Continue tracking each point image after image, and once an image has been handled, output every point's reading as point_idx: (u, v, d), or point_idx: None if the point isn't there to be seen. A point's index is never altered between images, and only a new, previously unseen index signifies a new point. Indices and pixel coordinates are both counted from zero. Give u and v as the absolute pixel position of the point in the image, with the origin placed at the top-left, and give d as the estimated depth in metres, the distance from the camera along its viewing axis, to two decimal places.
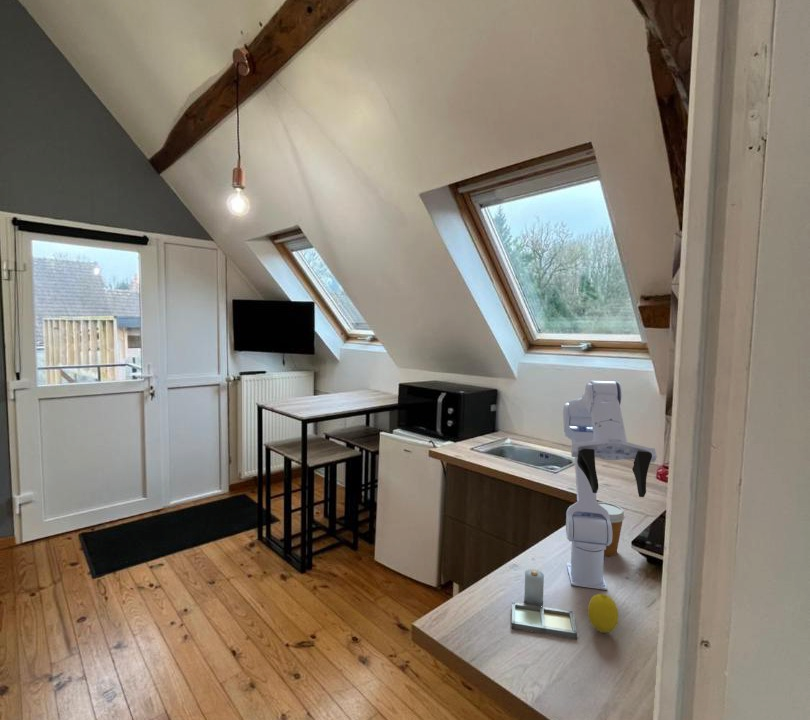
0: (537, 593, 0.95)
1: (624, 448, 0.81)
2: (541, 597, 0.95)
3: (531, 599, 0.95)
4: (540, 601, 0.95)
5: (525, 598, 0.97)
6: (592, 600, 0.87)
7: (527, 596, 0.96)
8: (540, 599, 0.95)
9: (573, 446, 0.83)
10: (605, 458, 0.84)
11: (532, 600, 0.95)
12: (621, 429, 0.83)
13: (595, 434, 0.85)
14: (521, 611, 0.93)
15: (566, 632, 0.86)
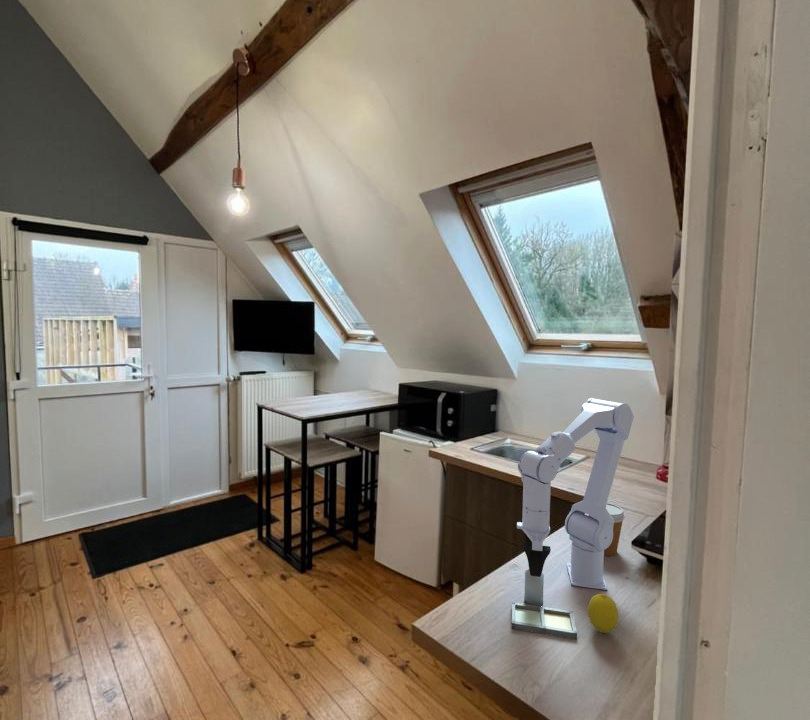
0: (537, 593, 0.95)
1: None
2: (541, 597, 0.95)
3: (531, 599, 0.95)
4: (540, 601, 0.95)
5: (525, 598, 0.97)
6: (592, 600, 0.87)
7: (527, 596, 0.96)
8: (540, 599, 0.95)
9: None
10: None
11: (532, 600, 0.95)
12: (526, 515, 0.94)
13: None
14: (521, 611, 0.93)
15: (566, 632, 0.86)
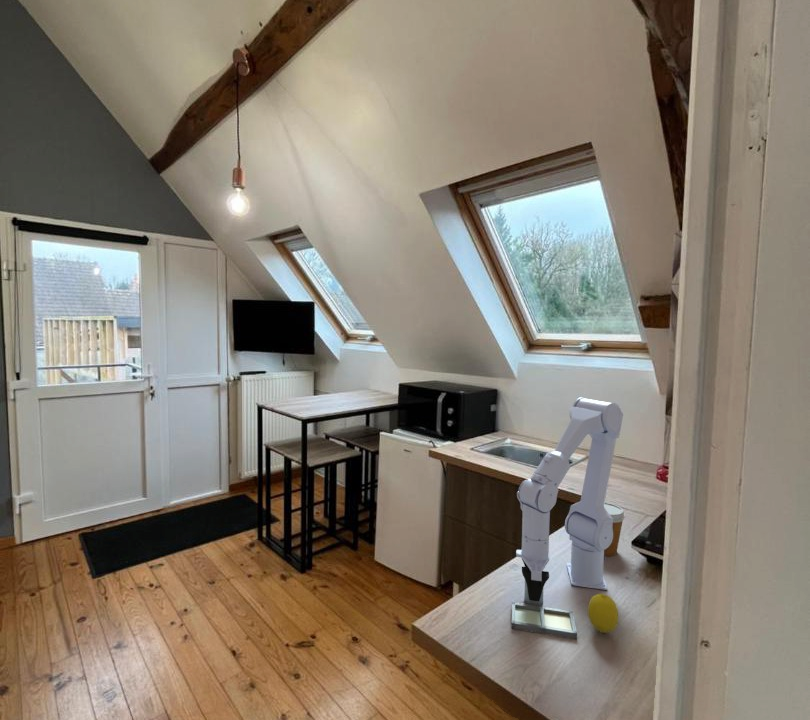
0: None
1: None
2: (541, 597, 0.95)
3: None
4: (540, 601, 0.95)
5: (525, 598, 0.97)
6: (592, 600, 0.87)
7: (527, 596, 0.96)
8: (540, 599, 0.95)
9: None
10: None
11: None
12: (525, 543, 0.95)
13: None
14: (521, 611, 0.93)
15: (566, 632, 0.86)
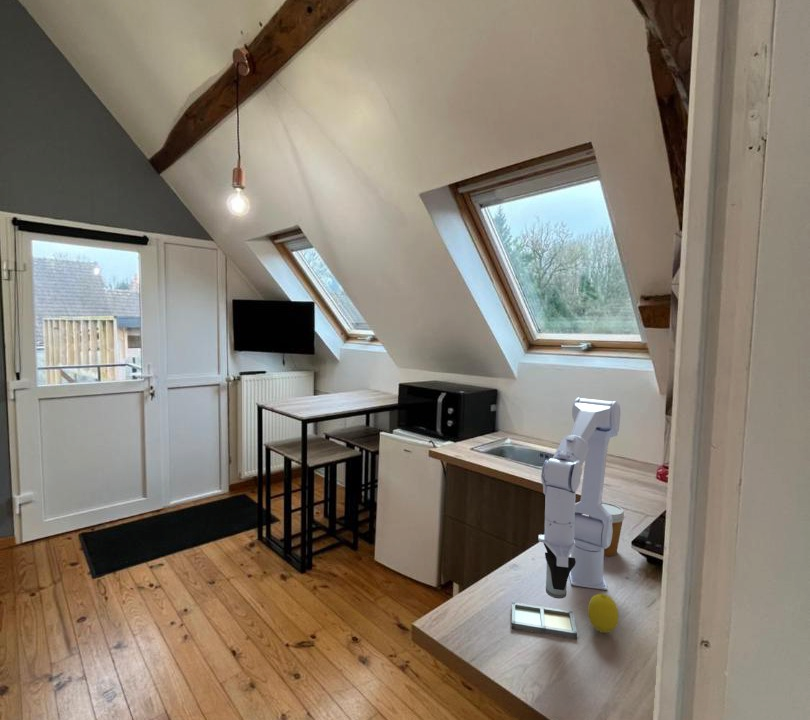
0: None
1: None
2: None
3: (553, 589, 0.88)
4: (563, 591, 0.88)
5: (547, 587, 0.89)
6: (592, 600, 0.87)
7: (549, 585, 0.88)
8: None
9: None
10: None
11: (554, 590, 0.88)
12: (549, 527, 0.87)
13: None
14: (521, 611, 0.93)
15: (566, 632, 0.86)
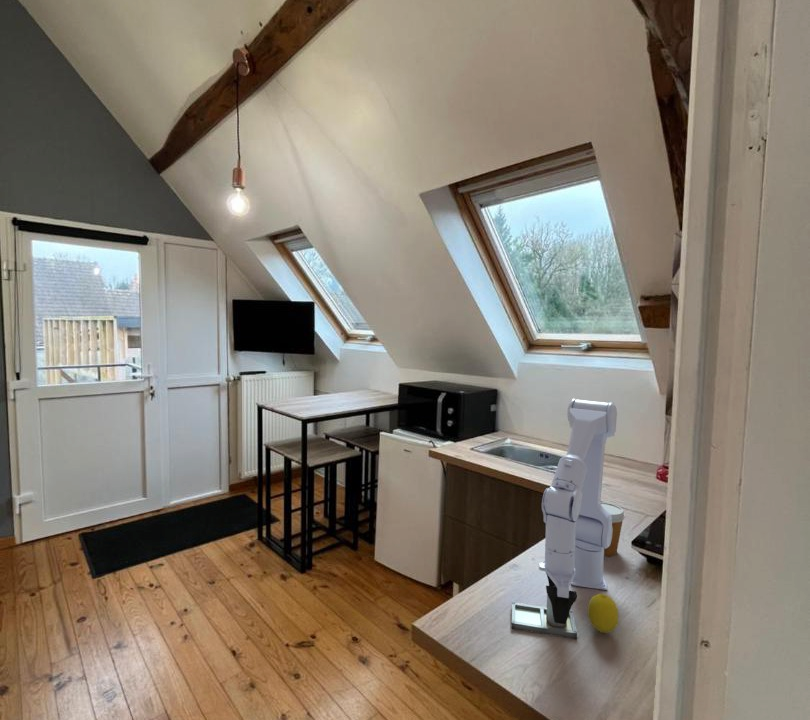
0: None
1: None
2: None
3: None
4: None
5: (547, 617, 0.89)
6: (592, 600, 0.87)
7: (549, 615, 0.89)
8: None
9: None
10: None
11: None
12: (549, 556, 0.87)
13: None
14: (521, 611, 0.93)
15: (566, 632, 0.86)
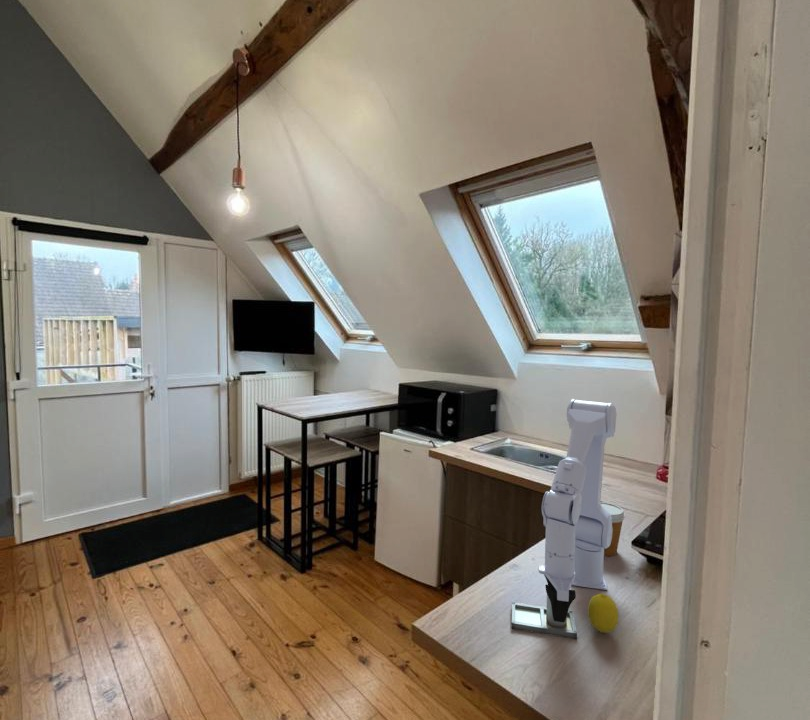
0: None
1: None
2: None
3: None
4: None
5: (547, 618, 0.89)
6: (592, 600, 0.87)
7: (549, 616, 0.89)
8: None
9: None
10: None
11: None
12: (549, 559, 0.87)
13: None
14: (521, 611, 0.93)
15: (566, 632, 0.86)
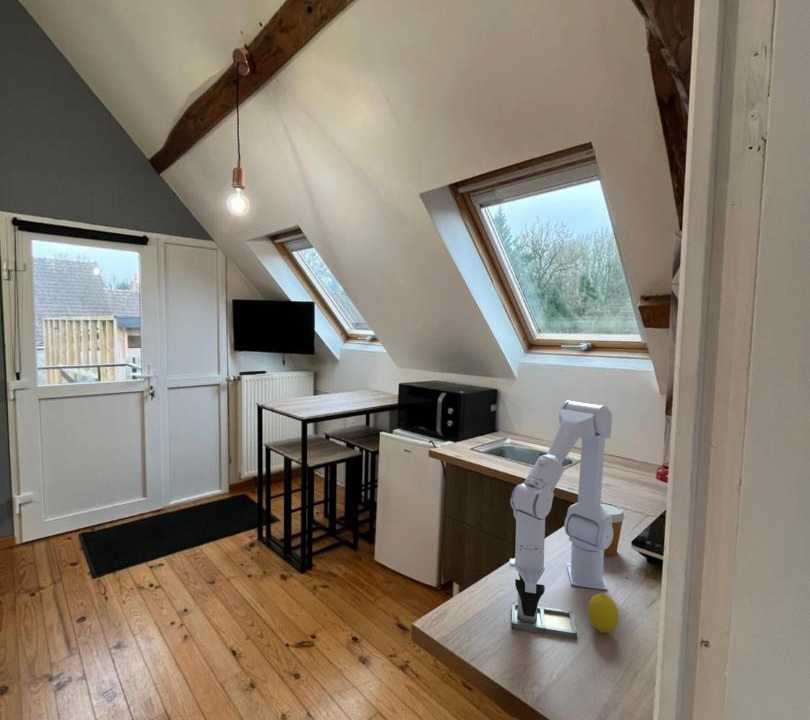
0: None
1: None
2: (535, 613, 0.89)
3: None
4: (534, 617, 0.89)
5: (518, 613, 0.91)
6: (592, 600, 0.87)
7: (520, 611, 0.90)
8: None
9: None
10: None
11: None
12: (519, 552, 0.89)
13: None
14: None
15: (566, 632, 0.86)
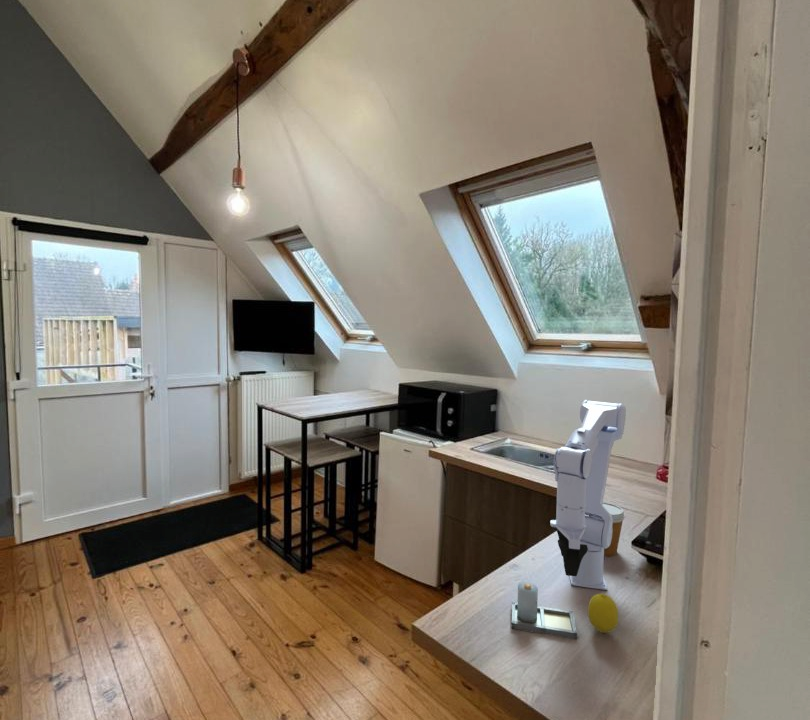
0: (530, 608, 0.89)
1: None
2: (535, 612, 0.89)
3: (524, 614, 0.89)
4: (534, 617, 0.89)
5: (518, 613, 0.91)
6: (592, 600, 0.87)
7: (520, 611, 0.90)
8: (533, 615, 0.89)
9: None
10: None
11: (525, 615, 0.89)
12: (561, 512, 0.91)
13: None
14: None
15: (566, 632, 0.86)
